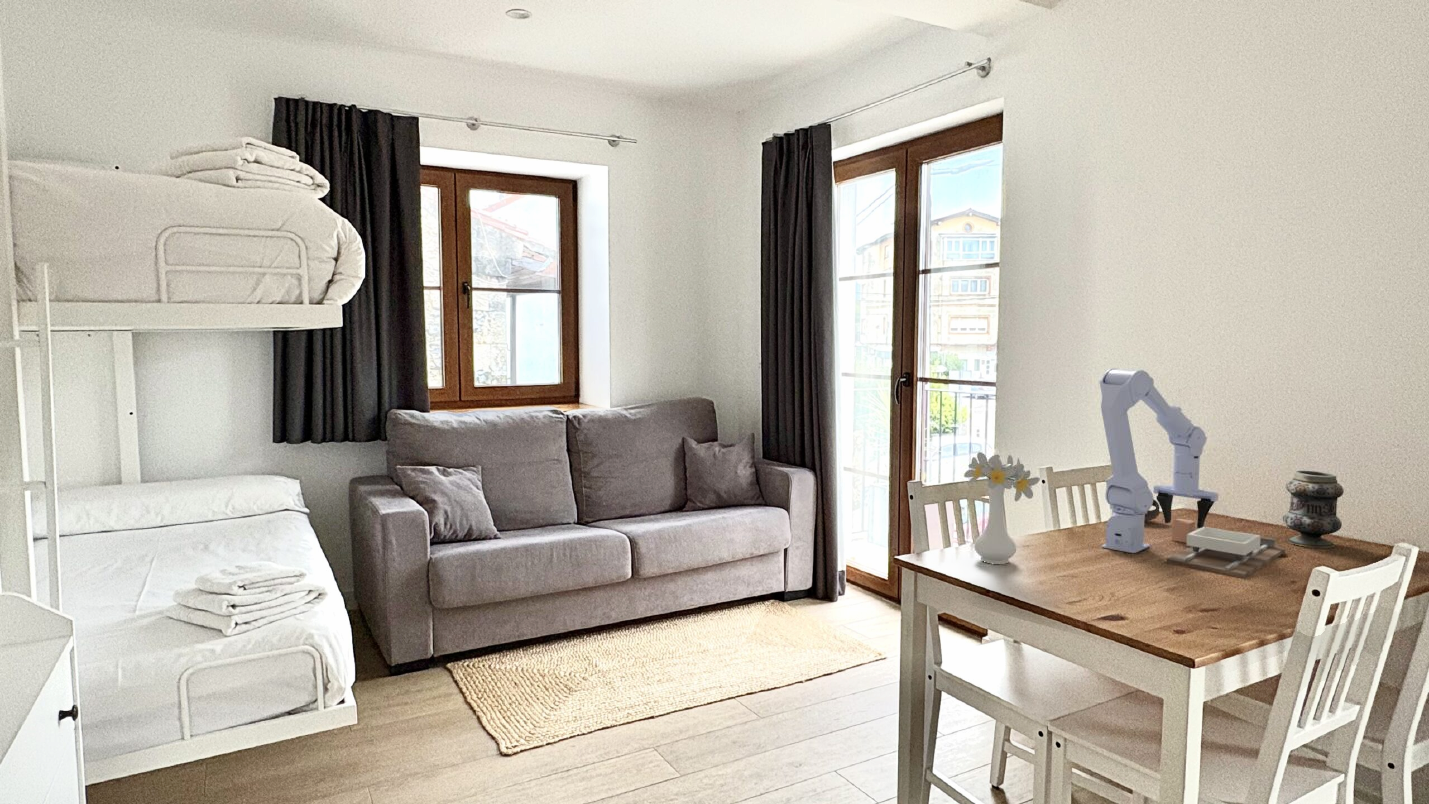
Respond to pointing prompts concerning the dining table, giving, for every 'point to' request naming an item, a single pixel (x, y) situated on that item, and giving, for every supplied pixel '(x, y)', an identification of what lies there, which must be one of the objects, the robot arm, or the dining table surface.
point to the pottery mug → (1152, 512)
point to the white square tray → (1223, 541)
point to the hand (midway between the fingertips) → (1183, 525)
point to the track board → (1228, 559)
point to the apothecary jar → (1313, 507)
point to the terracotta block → (1182, 529)
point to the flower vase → (999, 503)
